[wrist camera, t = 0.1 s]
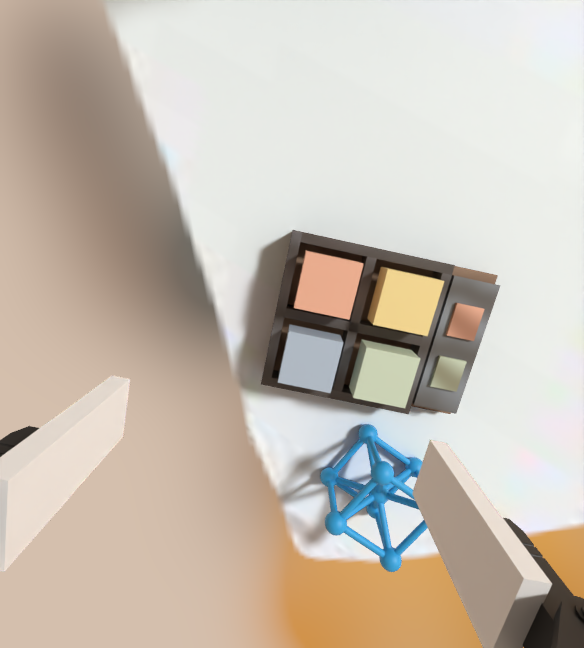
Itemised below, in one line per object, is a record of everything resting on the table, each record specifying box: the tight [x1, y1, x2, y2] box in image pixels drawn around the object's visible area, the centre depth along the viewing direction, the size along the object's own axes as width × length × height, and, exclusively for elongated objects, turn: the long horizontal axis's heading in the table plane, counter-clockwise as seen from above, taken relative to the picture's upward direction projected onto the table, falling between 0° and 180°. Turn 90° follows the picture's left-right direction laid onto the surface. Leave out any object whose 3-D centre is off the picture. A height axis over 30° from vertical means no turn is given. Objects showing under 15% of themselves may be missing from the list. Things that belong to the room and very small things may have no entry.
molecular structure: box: [320, 424, 428, 572], centre depth 42 cm, size 10×10×10 cm
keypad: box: [261, 230, 500, 414], centre depth 41 cm, size 17×23×4 cm
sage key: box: [349, 339, 420, 408], centre depth 39 cm, size 6×6×3 cm
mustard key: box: [367, 267, 444, 336], centre depth 37 cm, size 6×6×3 cm
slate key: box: [278, 324, 344, 393], centre depth 38 cm, size 6×6×3 cm
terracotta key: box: [294, 250, 363, 320], centre depth 36 cm, size 6×6×3 cm
